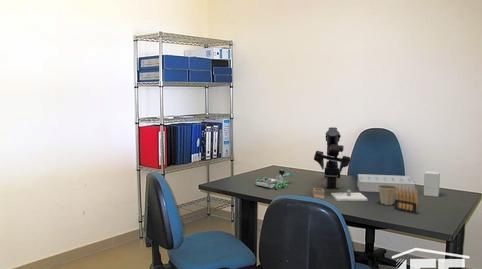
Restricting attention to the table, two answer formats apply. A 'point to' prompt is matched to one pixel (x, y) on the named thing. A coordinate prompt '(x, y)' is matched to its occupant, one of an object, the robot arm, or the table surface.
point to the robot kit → (274, 181)
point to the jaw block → (318, 193)
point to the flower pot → (387, 194)
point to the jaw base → (349, 196)
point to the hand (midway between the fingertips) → (331, 170)
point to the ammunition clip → (406, 200)
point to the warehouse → (383, 182)
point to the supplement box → (431, 183)
